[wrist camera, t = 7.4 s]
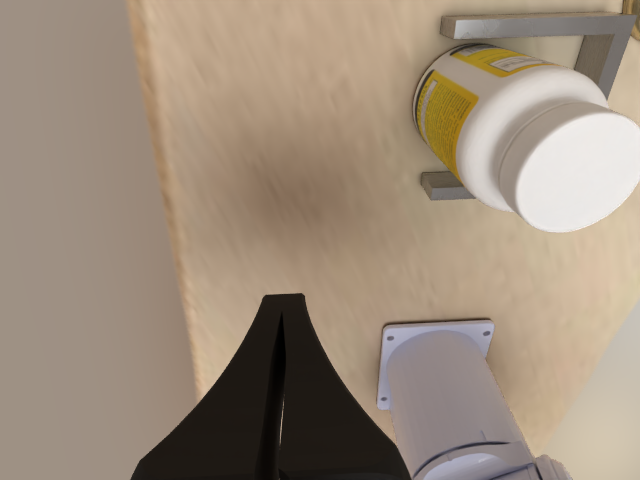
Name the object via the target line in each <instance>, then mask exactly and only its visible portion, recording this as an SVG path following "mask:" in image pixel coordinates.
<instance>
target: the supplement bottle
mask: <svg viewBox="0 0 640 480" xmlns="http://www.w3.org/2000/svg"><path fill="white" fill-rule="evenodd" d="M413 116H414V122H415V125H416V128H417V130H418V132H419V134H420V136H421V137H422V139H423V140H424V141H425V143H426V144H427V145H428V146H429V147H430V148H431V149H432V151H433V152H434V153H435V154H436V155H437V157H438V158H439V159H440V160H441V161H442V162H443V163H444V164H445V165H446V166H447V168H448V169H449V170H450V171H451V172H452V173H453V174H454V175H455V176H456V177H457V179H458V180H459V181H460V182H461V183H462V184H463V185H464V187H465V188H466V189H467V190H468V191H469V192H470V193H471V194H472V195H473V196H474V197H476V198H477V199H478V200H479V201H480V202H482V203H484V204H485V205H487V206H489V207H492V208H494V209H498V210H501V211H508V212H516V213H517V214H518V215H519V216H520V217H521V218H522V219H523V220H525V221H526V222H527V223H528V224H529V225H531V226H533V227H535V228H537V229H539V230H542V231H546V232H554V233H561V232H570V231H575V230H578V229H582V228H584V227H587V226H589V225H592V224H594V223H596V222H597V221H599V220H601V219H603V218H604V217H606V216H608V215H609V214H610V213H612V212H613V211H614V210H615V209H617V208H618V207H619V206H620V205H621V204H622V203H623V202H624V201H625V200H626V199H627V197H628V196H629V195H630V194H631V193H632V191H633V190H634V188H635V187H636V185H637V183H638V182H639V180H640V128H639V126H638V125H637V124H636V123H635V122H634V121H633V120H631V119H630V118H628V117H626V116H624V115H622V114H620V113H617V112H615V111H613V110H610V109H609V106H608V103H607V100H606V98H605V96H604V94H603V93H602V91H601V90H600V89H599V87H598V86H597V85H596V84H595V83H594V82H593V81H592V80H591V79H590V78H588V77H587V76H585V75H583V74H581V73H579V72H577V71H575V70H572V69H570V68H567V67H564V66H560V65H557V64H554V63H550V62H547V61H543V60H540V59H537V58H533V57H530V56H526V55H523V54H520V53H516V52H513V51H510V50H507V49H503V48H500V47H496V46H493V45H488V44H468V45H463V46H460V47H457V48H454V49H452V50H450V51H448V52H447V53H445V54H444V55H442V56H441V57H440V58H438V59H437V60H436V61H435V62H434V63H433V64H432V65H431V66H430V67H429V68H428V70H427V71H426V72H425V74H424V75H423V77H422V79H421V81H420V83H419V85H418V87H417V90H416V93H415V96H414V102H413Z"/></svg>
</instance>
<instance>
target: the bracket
mask: <svg viewBox="0 0 640 480" xmlns="http://www.w3.org/2000/svg"><path fill="white" fill-rule="evenodd" d="M636 18H637V15H633V14H624V13H615V12H577V13H543V14H509V15H475V16H442V21H441V29H440V34H442V35H445V36H447V37H450V38H452V39H474V38H506V37H538V36H570V35H585V37H584V40H583V44H582V47H581V50H580V54H579V57H578V60H577V64H576V67H575V71H577V72H579V73H581V74H583V75H585V76H587V77H588V78H590V79H591V80H592V81H593V82H594V83H595V84H596V85H597V86H598V87H599V89H600V90H601V91H602V93H603V94H604V96H605V98H606V100H607V99H608V96H609V93H610V91H611V88H612V85H613V82H614V79H615V77H616V74H617V71H618V68H619V65H620V63H621V60H622V57H623V54H624V51H625V49H626V46H627V43H628V40H629V37H630V35H631V32H632V29H633V26H634V23H635V21H636ZM421 185H422V187H423V188H424V190H425V192H426V193H427V195H428V197H429V198H430V200H454V199H477V198H476V197H474V196H473V195H472V194H471V193H470V192H469V191H468V190H467V189H466V188H465V187H464V185H463V184H462V183H461V182H460V181H459V180H458V179H457V177H456V176H455V175H454V174H453V173H452V172H431V173H422V180H421Z"/></svg>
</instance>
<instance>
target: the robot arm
mask: <svg viewBox="0 0 640 480" xmlns="http://www.w3.org/2000/svg"><path fill="white" fill-rule="evenodd" d="M494 329H495V325H494V323H493V322H492V321H491V320H476V321H457V322H437V323H418V324H398V325H388V326H386V327H385V328H384V329H383V337H382V348H381V359H380V371H379V382H378V393H377V408H378V409H380V410H390V413H391V417H392V422H393V427H394V431H395V436H396V441H397V445H398V448H397V446H396V445H395V444H394V443H393V442H392V441H391V440H390V439H389V438H388V437H387V436H386V434H385V433H384V432H383V431H382V430H381V429H380V428H379V427H378V426H377V425H376V424H375V423H374V421H373V420H372V419H371V418H370V417H369V416H368V415H367V413H366V412H365V411H364V410H363V408H362V407H361V406H360V405H359V403H358V402H357V401H356V399H355V398H354V397H353V396H352V394H351V393H350V392H349V390H348V389H347V387H346V386H345V384H344V383H343V382H342V380H341V379H340V377H339V375H338V374H337V372H336V371H335V369H334V367H333V366H332V364H331V362H330V361H329V359H328V357H327V355H326V353H325V351H324V349H323V347H322V345H321V343H320V341H319V339H318V337H317V335H316V332H315V330H314V328H313V325H312V323H311V320H310V317H309V314H308V311H307V307H306V302H305V296H304V295H303V294H302V293H297V294H275V295H265V296H264V297H263V299H262V302H261V305H260V307H259V310H258V312H257V314H256V317H255V319H254V321H253V323H252V325H251V327H250V329H249V331H248V332H247V334H246V336H245V338H244V340H243V342H242V343H241V345H240V347H239V348H238V350H237V352H236V353H235V355H234V357H233V358H232V360H231V361H230V363H229V364H228V366H227V367H226V369H225V370H224V372H223V373H222V374H221V376H220V377H219V378H218V380H217V381H216V382H215V384H214V385H213V386H212V388H211V389H210V390H209V391H208V392H207V394H206V395H205V396H204V397H203V399H202V400H201V401H200V402H199V403H198V404H197V406H196V407H195V408H194V409H193V410H192V411H191V412H190V413H189V414H188V415H187V416H186V417H185V418H184V420H183V421H182V422H181V423H180V424H179V425H178V426H177V427H176V428H175V429H174V430H173V431H172V432H171V433H170V434H169V435H168V436H167V437H166V438H164V439H163V440H162V441H161V442H160V443H159V444H158V445H157V446H156V447H155V448H153V449H152V450H151V451H150V452H149V453H148V454H147V455H146V456H145V457H144V458H142V459H141V460H140V461H139V463H138V465H137V467H136V469H135V471H134V473H133V475H132V477H131V480H279V479H280V480H573V479H572V478H571V476H570V475H569V473H568V471H567V470H566V468H565V467H564V466H563V464H562V463H560V462H558V461H556V460H554V459H551V458H550V457H549V456H548V455H542V456H540V457H537V458H535V457H534V455H533V454H532V453H531V451H530V449H529V447H528V445H527V443H526V441H525V439H524V437H523V435H522V433H521V431H520V429H519V427H518V425H517V423H516V421H515V419H514V417H513V415H512V413H511V411H510V409H509V407H508V405H507V403H506V401H505V399H504V397H503V395H502V393H501V391H500V389H499V386H498V384H497V382H496V380H495V378H494V376H493V374H492V372H491V370H490V368H489V366H488V364H487V362H486V360H485V359H486V355H487V352H488V349H489V345H490V342H491V339H492V335H493V332H494ZM485 331H486V332H485ZM389 336H391V337H389ZM283 400H284V406H283ZM282 410H283V419H282ZM281 419H282V432H281V442H280V430H281Z"/></svg>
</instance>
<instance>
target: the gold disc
mask: <svg viewBox="0 0 640 480" xmlns="http://www.w3.org/2000/svg"><path fill="white" fill-rule="evenodd" d="M623 13H624V14H633V15H637V18H636V21H635V23H634V26H633V29H632V32H631V35H632V36H633V37H634V38H635V39H637V40H639V41H640V0H624V3H623Z"/></svg>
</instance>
